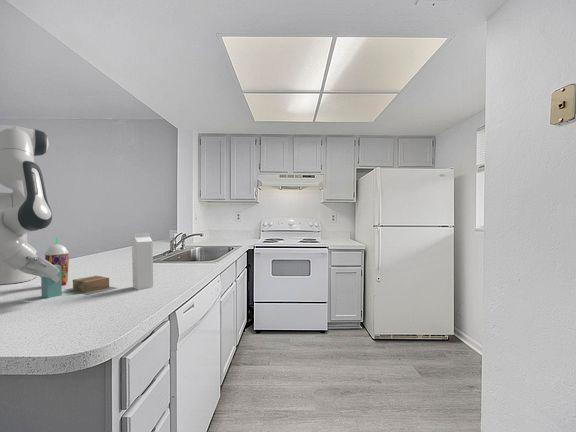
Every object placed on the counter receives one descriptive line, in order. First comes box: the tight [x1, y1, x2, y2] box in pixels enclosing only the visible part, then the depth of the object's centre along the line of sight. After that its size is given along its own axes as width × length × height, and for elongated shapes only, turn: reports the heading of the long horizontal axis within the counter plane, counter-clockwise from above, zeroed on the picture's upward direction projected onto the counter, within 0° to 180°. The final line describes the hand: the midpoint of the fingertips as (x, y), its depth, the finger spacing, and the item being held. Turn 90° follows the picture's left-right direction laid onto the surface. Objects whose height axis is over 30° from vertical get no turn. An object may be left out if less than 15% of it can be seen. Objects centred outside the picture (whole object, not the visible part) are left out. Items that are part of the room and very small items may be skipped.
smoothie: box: [44, 237, 70, 287], centre depth 138 cm, size 8×8×20 cm
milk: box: [131, 232, 154, 290], centre depth 134 cm, size 6×6×22 cm
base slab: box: [72, 275, 110, 293], centre depth 131 cm, size 9×9×4 cm
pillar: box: [40, 265, 63, 299], centre depth 121 cm, size 4×4×11 cm
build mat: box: [64, 285, 118, 296], centre depth 131 cm, size 16×12×1 cm
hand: (53, 279), depth 121 cm, fingers closed on pillar, 4 cm apart
